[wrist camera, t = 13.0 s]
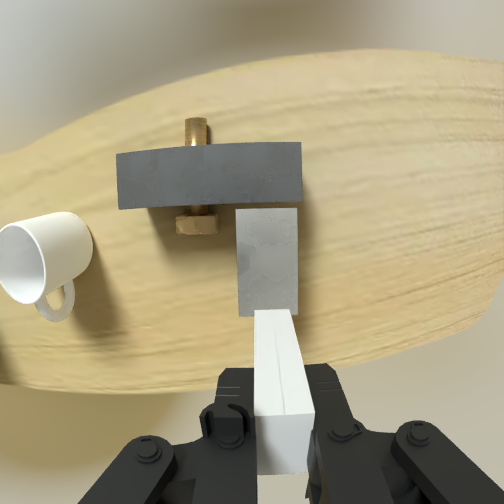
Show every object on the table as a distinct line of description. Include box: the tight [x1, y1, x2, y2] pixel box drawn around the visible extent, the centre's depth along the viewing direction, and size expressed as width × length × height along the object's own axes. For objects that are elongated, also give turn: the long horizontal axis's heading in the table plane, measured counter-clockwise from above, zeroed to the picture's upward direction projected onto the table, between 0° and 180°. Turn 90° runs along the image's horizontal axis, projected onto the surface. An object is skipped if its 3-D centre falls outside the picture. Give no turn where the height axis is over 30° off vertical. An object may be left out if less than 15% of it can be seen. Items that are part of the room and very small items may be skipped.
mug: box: [0, 212, 93, 322], centre depth 29 cm, size 12×8×10 cm
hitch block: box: [116, 142, 302, 210], centre depth 28 cm, size 16×5×7 cm, turn 92°
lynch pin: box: [176, 118, 218, 235], centre depth 30 cm, size 12×4×2 cm, turn 1°
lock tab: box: [236, 208, 298, 317], centre depth 26 cm, size 5×9×1 cm, turn 2°
